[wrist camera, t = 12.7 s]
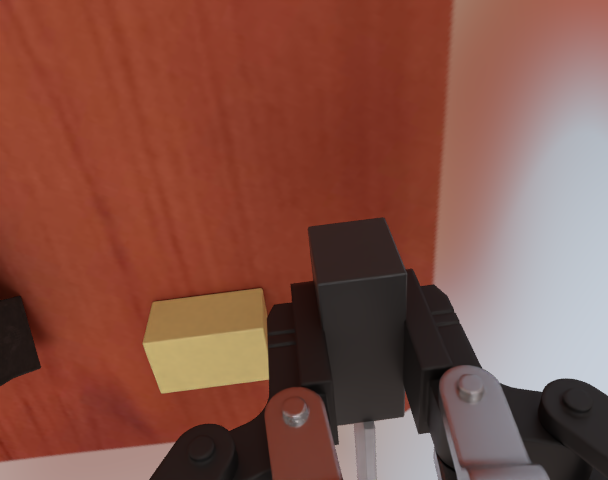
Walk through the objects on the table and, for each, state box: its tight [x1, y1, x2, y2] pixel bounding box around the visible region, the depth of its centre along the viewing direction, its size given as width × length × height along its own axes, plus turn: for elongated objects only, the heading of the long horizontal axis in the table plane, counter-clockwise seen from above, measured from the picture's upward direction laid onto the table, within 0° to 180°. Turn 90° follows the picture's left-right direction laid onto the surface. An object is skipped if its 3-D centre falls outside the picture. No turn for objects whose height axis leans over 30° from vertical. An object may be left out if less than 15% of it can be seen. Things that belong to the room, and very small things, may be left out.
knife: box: [308, 217, 407, 480], centre depth 16 cm, size 14×2×3 cm, turn 5°
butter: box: [143, 288, 269, 393], centre depth 26 cm, size 6×4×3 cm, turn 95°
